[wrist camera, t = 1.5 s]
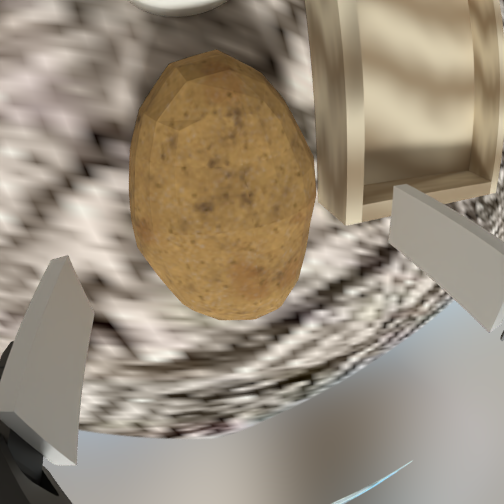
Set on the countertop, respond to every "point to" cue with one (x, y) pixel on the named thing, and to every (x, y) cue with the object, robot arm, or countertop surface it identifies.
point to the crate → (405, 101)
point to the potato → (221, 187)
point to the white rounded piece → (176, 6)
